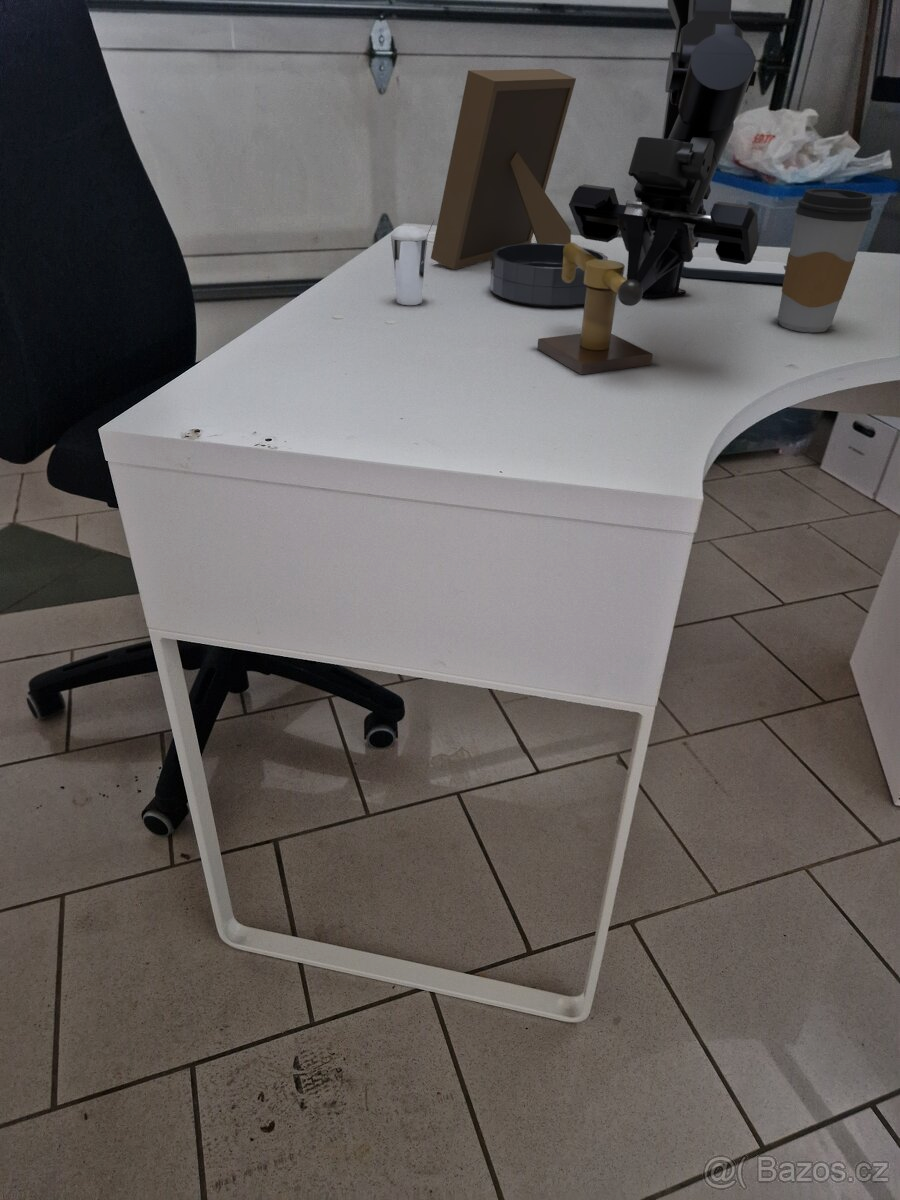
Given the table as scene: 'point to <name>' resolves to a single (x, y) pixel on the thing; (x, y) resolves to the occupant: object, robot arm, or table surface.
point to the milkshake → (409, 263)
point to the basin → (536, 275)
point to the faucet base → (594, 357)
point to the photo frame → (503, 165)
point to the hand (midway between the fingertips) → (629, 297)
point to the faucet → (600, 274)
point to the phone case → (735, 270)
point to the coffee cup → (822, 256)
